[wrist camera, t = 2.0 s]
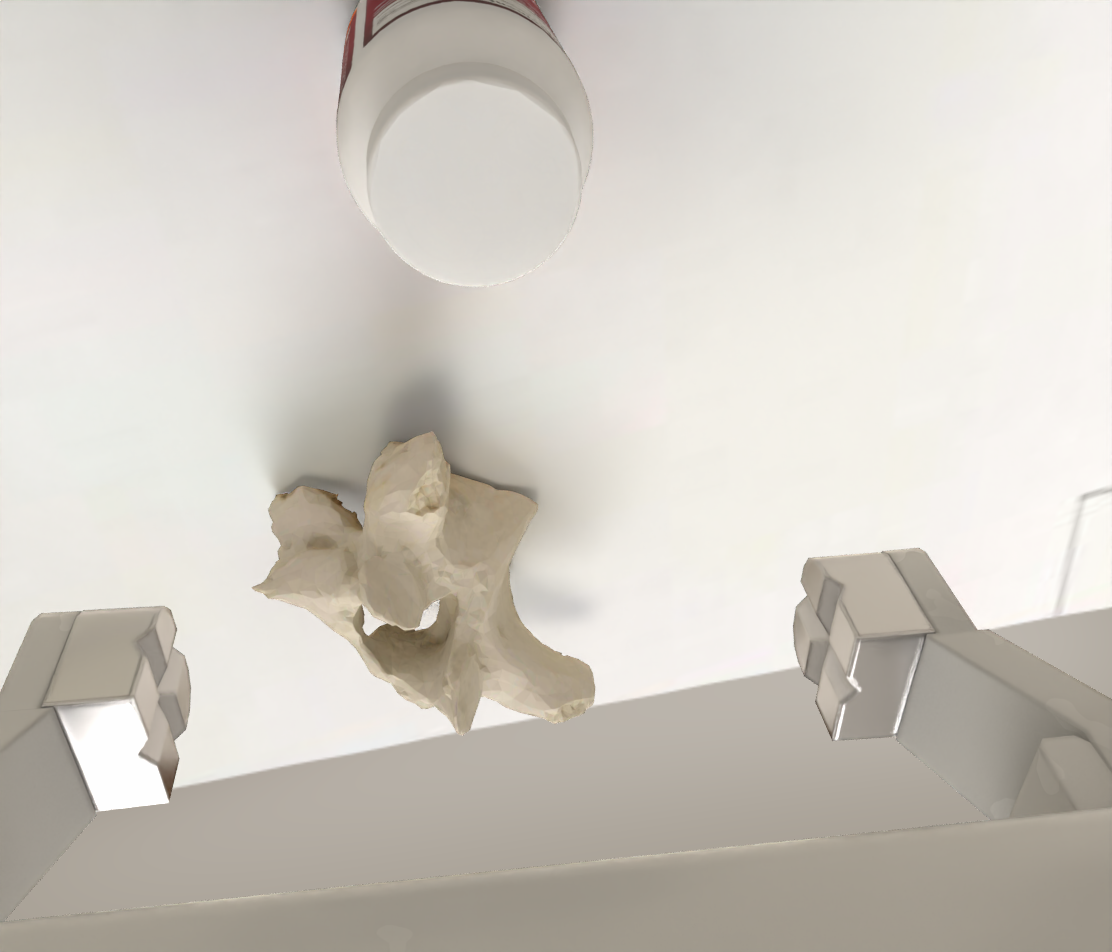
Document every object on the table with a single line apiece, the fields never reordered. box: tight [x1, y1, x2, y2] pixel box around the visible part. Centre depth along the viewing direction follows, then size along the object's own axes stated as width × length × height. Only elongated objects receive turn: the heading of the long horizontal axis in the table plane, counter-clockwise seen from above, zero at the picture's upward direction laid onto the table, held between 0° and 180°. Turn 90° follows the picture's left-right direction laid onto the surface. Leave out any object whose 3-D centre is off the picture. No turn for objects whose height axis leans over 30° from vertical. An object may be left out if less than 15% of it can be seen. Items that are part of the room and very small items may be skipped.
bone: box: [252, 431, 595, 736], centre depth 38 cm, size 9×14×8 cm, turn 39°
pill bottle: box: [337, 0, 593, 287], centre depth 26 cm, size 6×6×11 cm
